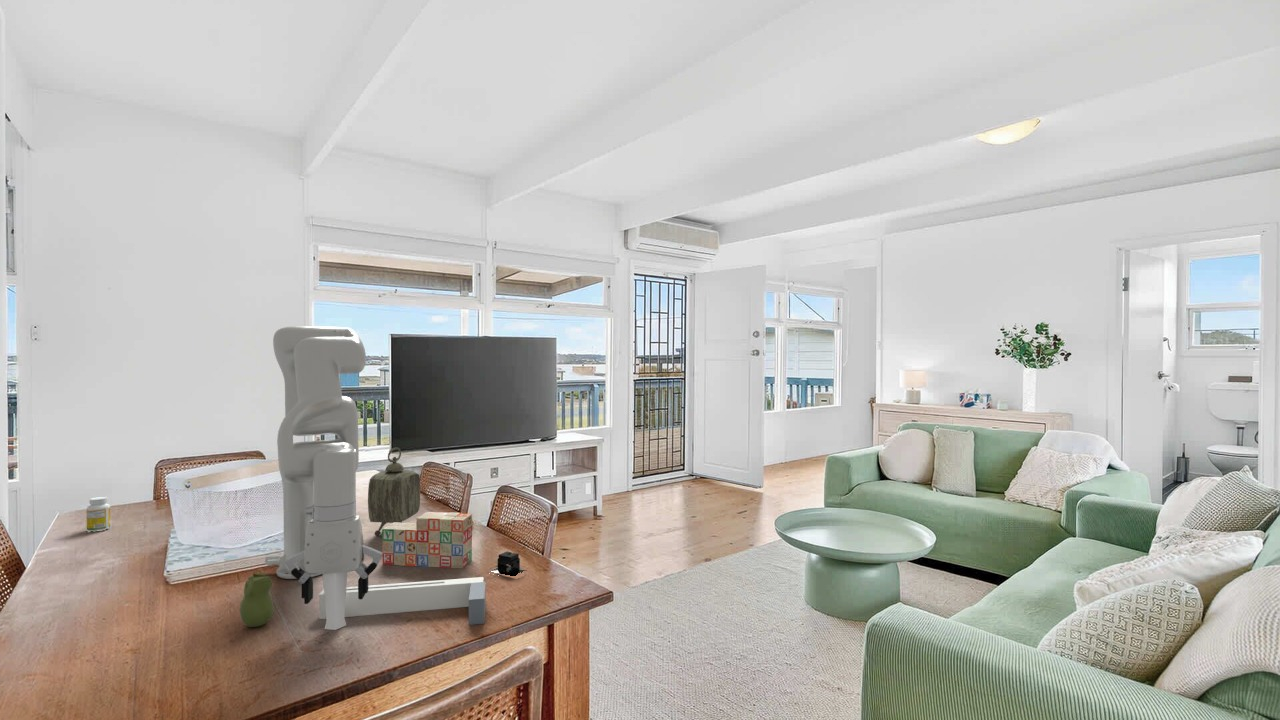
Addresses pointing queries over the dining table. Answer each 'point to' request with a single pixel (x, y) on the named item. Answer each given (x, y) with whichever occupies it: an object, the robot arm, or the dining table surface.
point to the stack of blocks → (429, 541)
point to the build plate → (506, 560)
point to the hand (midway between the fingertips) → (335, 599)
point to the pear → (257, 601)
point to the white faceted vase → (335, 599)
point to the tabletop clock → (393, 494)
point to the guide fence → (416, 598)
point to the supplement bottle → (98, 514)
